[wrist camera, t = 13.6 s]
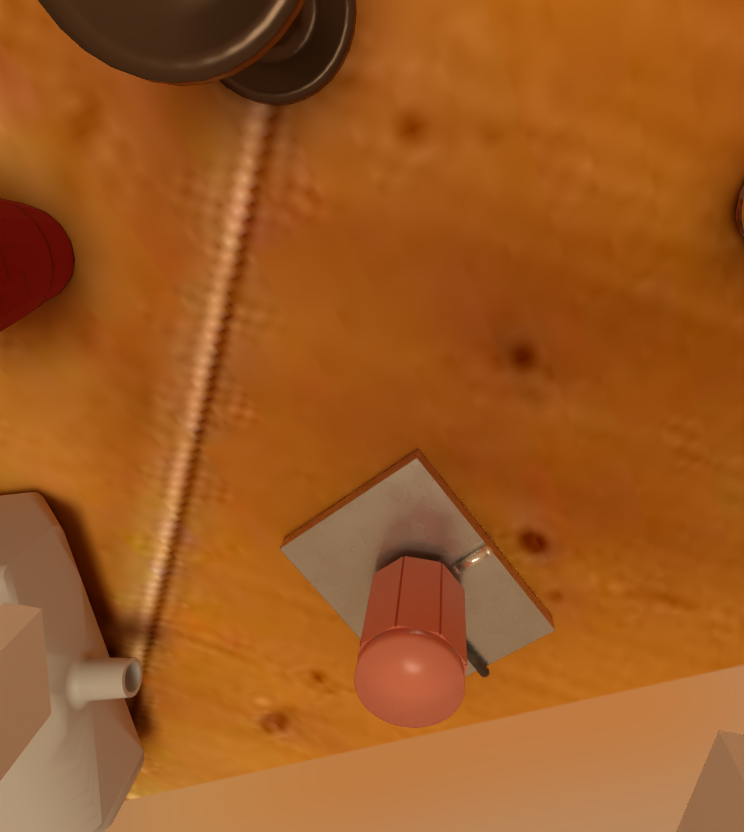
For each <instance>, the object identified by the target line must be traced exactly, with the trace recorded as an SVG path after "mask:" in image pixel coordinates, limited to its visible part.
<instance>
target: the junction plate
mask: <svg viewBox="0 0 744 832" xmlns="http://www.w3.org/2000/svg"><path fill="white" fill-rule="evenodd" d="M280 550H281V551H282V552H283V553H284V554H285V555H286V557H287V558H288V559H289V560H290V561H291V562H292V563H293V564H294V565H295V567H296V568H297V569H298V570H299V571H300V572H301V573H302V574H303V575H304V577H305V578H306V579H307V580H308V581H309V582H310V583H311V584H312V585H313V587H314V588H315V589H316V590H317V591H318V592H319V593H320V594H321V595H322V597H323V598H324V599H325V600H326V601H327V602H328V603H329V604H330V605H331V607H332V608H333V609H334V610H335V611H336V612H337V613H338V614H339V615H340V617H341V618H342V619H343V620H344V621H345V622H346V623H347V624H348V626H349V627H350V628H351V629H352V630H353V631H354V632H355V633H356V634H357V636H358V637H359V638H360V639H361V636H362V631H363V626H364V620H365V615H366V610H367V605H368V600H369V595H370V590H371V585H372V580H373V575H374V574H375V573H376V572H378V571H379V570H381V569H383V568H384V567H386V566H388V565H389V564H391V563H393V562H394V561H396V560H398V559H399V558H401V557H404V558H405V556H408V557H414V558H420V559H426V560H432V561H438V562H441V564H442V563H443V564H444V565H445V566H446V568H447V569H448V570H449V571H450V573H451V574H452V575H453V576H454V577H455V579H456V580H457V581H458V582H459V583H460V585H461V586H462V587H463V588H464V594H465V620H466V645H467V669H466V673H465V677H466V676H467V675H469V674H471V673H473V672H475V671H478V673H479V674H480V675H481V676H482V677H487V676H488V675H489V669H488V668H487V667H486V666H487V665H489V664H491V663H493V662H495V661H497V660H499V659H500V658H502V657H504V656H506V655H508V654H510V653H512V652H514V651H516V650H518V649H520V648H522V647H524V646H526V645H528V644H530V643H531V642H533V641H535V640H537V639H539V638H541V637H543V636H545V635H547V634H549V633H551V632H553V631H555V627H554V623H553V619H552V616H551V615H550V613H549V612H548V611H547V610H546V608H545V607H544V606H543V605H542V603H541V602H540V601H539V600H538V598H537V597H536V596H535V595H534V593H533V592H532V591H531V590H530V588H529V587H528V586H527V585H526V583H525V582H524V581H523V580H522V578H521V577H520V576H519V575H518V573H517V572H516V571H515V570H514V568H513V567H512V566H511V565H510V563H509V562H508V561H507V560H506V558H505V557H504V556H503V555H502V553H501V552H500V551H499V550H498V548H497V547H496V546H495V545H494V543H493V542H492V541H491V540H490V538H489V537H488V536H487V535H486V533H485V532H484V531H483V530H482V528H481V527H480V526H479V525H478V523H477V522H476V521H475V520H474V518H473V517H472V516H471V515H470V513H469V512H468V511H467V510H466V508H465V507H464V506H463V505H462V503H461V502H460V501H459V500H458V498H457V497H456V496H455V495H454V493H453V492H452V491H451V490H450V488H449V487H448V486H447V485H446V483H445V482H444V481H443V480H442V478H441V477H440V476H439V475H438V473H437V472H436V471H435V470H434V468H433V467H432V466H431V465H430V463H429V462H428V461H427V460H426V458H425V457H424V456H423V455H422V453H421V452H420V451H419V450H418V449H417V450H416V451H414V452H413V453H411V454H410V455H408V456H407V457H405V458H404V459H402V460H401V461H399V462H398V463H396V464H395V465H393V466H392V467H390V468H389V469H387V470H386V471H384V472H383V473H381V474H380V475H378V476H377V477H375V478H374V479H372V480H371V481H369V482H368V483H366V484H365V485H363V486H362V487H360V488H359V489H357V490H356V491H354V492H353V493H351V494H350V495H348V496H347V497H345V498H344V499H342V500H341V501H339V502H338V503H336V504H335V505H333V506H332V507H330V508H329V509H327V510H326V511H324V512H323V513H321V514H320V515H318V516H317V517H315V518H314V519H312V520H311V521H309V522H308V523H306V524H305V525H303V526H302V527H300V528H299V529H297V530H296V531H294V532H293V533H291V534H290V535H288V536H287V537H285V539H284V541H283V543H282V545H281V547H280Z"/></svg>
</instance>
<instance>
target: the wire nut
mask: <svg viewBox="0 0 744 832" xmlns="http://www.w3.org/2000/svg"><path fill="white" fill-rule="evenodd" d="M466 669H467V645H466V620H465V594H464V588H463V587H462V586H461V585H460V583H459V582H458V581H457V580H456V579H455V577H454V576H453V575H452V574H451V573H450V571H449V570H448V569H447V568H446V566H445V565H444V564H443V563H442V564H441V562H438V561H432V560H426V559H420V558H414V557H408V556H405V558H404V557H401V558H399V559H398V560H396V561H394V562H393V563H391V564H389V565H388V566H386V567H384V568H383V569H381V570H379V571H378V572H376V573H375V574H374V575H373V580H372V585H371V590H370V595H369V600H368V605H367V610H366V615H365V620H364V626H363V631H362V636H361V641H360V646H359V653H358V660H357V666H356V671H355V679H354V682H355V688H356V692H357V694H358V697H359V699H360V700H361V702H362V703H363V704H364V706H365V707H366V708H367V709H368V710H369V711H370V712H371V713H373V714H374V715H375V716H377V717H378V718H380V719H382V720H384V721H386V722H388V723H391V724H394V725H397V726H402V727H410V728H418V727H427V726H431V725H435V724H437V723H440V722H442V721H444V720H445V719H447V718H449V717H450V716H451V715H452V714H453V713H454V712H455V711H456V710H457V709H458V707H459V706H460V704H461V702H462V700H463V697H464V692H465V680H464V678H465V673H466Z"/></svg>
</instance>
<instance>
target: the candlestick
mask: <svg viewBox="0 0 744 832" xmlns="http://www.w3.org/2000/svg"><path fill="white" fill-rule="evenodd" d="M38 1H39V2H40V3H41V5H42V6H43V7H44V8H45V10H46V11H47V12H48V14H49V15H50V16H51V17H52V19H53V20H54V21H55V22H56V24H57V25H58V26H59V28H60V29H61V30H63V31H64V32H65V33H66V34H67V35H68V36H69V37H70V38H71V39H72V40H74V41H75V42H76V43H77V44H78V45H79V46H80V47H81V48H82V49H83V50H85V51H86V52H88V53H90V54H91V55H93V56H94V57H96V58H98V59H99V60H101V61H102V62H104V63H106V64H107V65H109V66H110V67H113V68H115V69H118V70H121V71H124V72H126V73H129V74H132V75H134V76H137V77H140V78H142V79H145V80H148V81H151V82H155V83H162V84H169V85H177V86H186V85H197V84H208V83H211V82H214V81H217V80H220V81H221V82H222V83H223V84H224V85H225V86H226V87H227V88H229V89H231V90H232V91H234V92H235V93H237V94H239V95H240V96H242V97H245V98H247V99H250V100H253V101H255V102H258V103H262V104H269V105H285V104H292V103H295V102H298V101H302V100H305V99H307V98H308V97H310V96H312V95H314V94H315V93H317V92H319V91H320V90H321V89H322V88H323V87H324V86H325V85H327V84H328V83H329V82H330V81H331V80H332V79H333V77H334V76H335V75H336V73H337V72H338V70H339V69H340V68H341V66H342V64H343V62H344V60H345V58H346V56H347V54H348V52H349V50H350V46H351V43H352V39H353V36H354V32H355V23H356V14H357V13H356V0H38Z"/></svg>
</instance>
